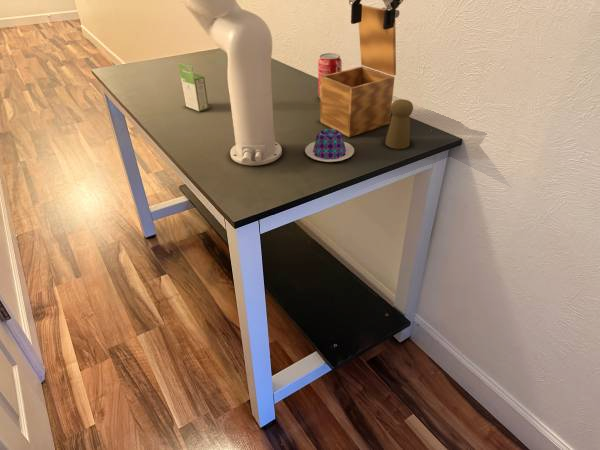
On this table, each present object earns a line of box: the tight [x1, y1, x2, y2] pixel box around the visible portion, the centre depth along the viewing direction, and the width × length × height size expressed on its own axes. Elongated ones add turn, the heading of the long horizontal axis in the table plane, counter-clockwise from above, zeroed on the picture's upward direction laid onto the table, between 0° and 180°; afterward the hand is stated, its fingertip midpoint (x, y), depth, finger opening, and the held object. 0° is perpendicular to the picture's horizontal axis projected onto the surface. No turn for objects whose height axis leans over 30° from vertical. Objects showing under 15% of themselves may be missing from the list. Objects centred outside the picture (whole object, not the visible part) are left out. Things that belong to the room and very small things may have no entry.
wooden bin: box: [319, 65, 395, 138], centre depth 113 cm, size 15×13×13 cm
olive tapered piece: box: [384, 98, 414, 150], centre depth 102 cm, size 6×6×11 cm
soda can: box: [317, 52, 343, 100], centre depth 129 cm, size 7×7×13 cm
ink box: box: [177, 62, 210, 112], centre depth 125 cm, size 7×4×13 cm, turn 47°
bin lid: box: [358, 4, 400, 77], centre depth 108 cm, size 15×13×6 cm
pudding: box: [304, 128, 355, 163], centre depth 101 cm, size 12×12×5 cm
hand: (371, 25), depth 99 cm, fingers open, 9 cm apart
